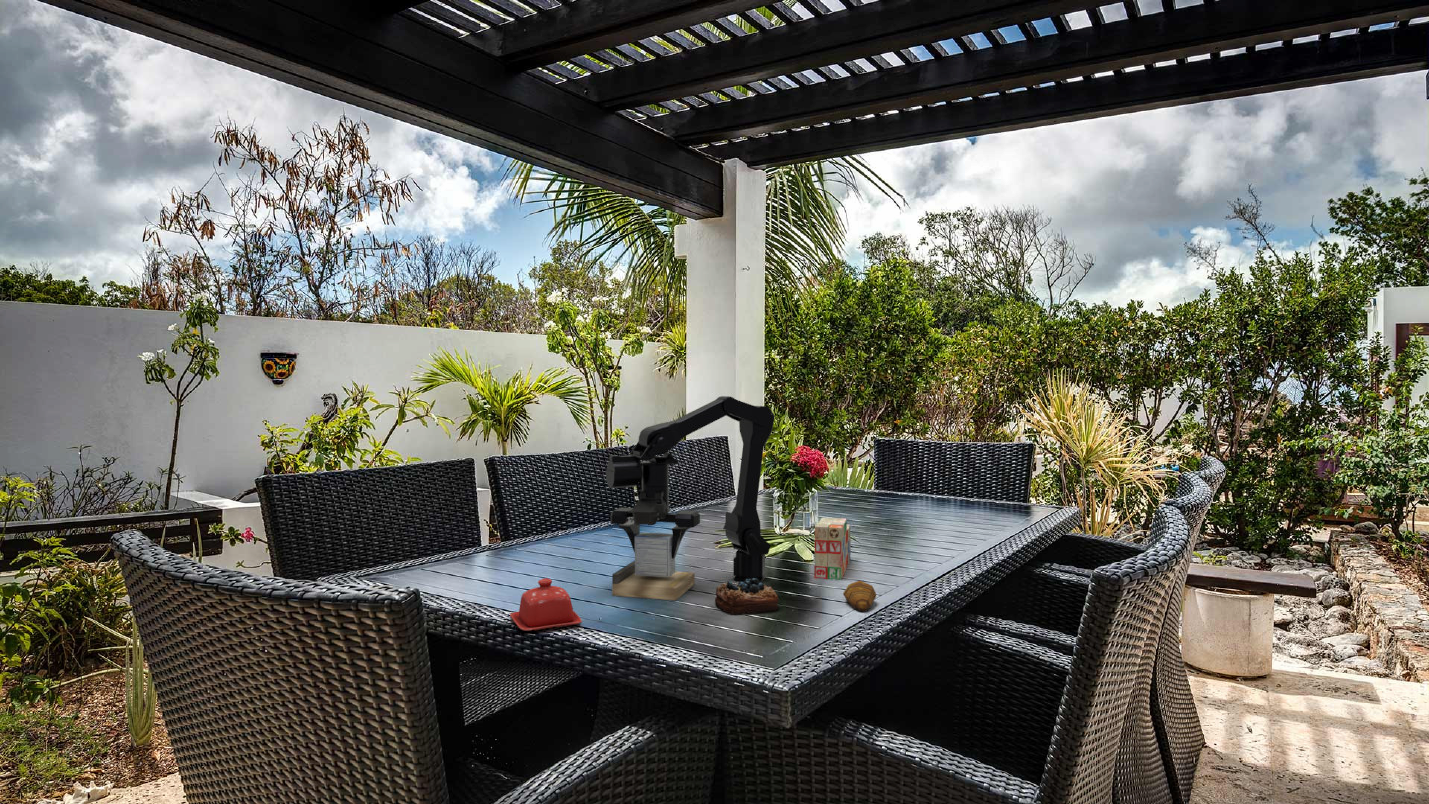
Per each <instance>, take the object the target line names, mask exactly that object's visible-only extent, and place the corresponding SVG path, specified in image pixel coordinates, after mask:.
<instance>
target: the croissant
mask: <svg viewBox="0 0 1429 804" xmlns="http://www.w3.org/2000/svg"><path fill="white" fill-rule="evenodd" d="M842 595H843V596H844V598H845V600H846V602H847V603H848V604H849V605H850V606H851V608H852V609H854V610H856V611H858V612H863V613H864V612H867V611H868V610H870V609H871V607H872V605H873V603H874V601H875V599H877V592H876V590H875V589H874V587H873V585H872V584H870V583H868V582H867V583H866V582H864V581H862V580H858V581H854V582H851V583H849V584H847V587H846V588H845V590H844V591H843V593H842Z"/></svg>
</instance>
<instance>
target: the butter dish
mask: <svg viewBox="0 0 1429 804" xmlns="http://www.w3.org/2000/svg"><path fill="white" fill-rule="evenodd" d="M537 583H538V586H537V587H534V588H530V589H528V590H526V591H524V592H523V593H522V595H521V597H520V601H519V602H520V603H519V609H518V611H515V612H511V613H510V614H509V616H510V618H511V619H512V621H513V622H514V623H515V625H516V626H517V627H518V628H519V629H520V630H522V631H523V632H526V631H527V632H533V631H532V630H534V631H540V629H542V630H547V629H546V628H550V629H554V628H553V627H558V628H562V627H561V626H565V627H570V626H572V625H574V626H575V625H578V624H580V623H582V618H581V617H580V616H579V615H578V614H577V613H576V611H574V610H573V604H572V600H571V596H570V595H569V593H568V592H567V591H566V590H565V589H564V588H562V587H561V586H556V585H551V584H552V583H553V580H552V579H550V578H547V577H546V578H541V579H539V580H538V581H537Z"/></svg>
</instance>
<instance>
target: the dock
mask: <svg viewBox="0 0 1429 804" xmlns="http://www.w3.org/2000/svg"><path fill="white" fill-rule="evenodd" d="M695 573H696V572H690V571H689V572H688V571H676V570H675V573H674V574H673V575H671V576H670V577H656V576H641V575H635V560H633V561H632V562H630V563H628V564H626V565H625V566H624V567H622V568H620V569H618V570H617V571H615V572H614V573H612V574H611V575H612V579H611V580H612V581H611V582H612V583H611V584H612V586H611V587H612V588H611V589H612V590H611V591H612V593H611V594H612V595H614V597H615V596H616V597H625V598H627V597H628V598H639V599H640V598H641V599H654V600H665V601H666V600H667V601H677V600H678V599H679V598H680V597H682V595H684V594H685V593H686V592H688V590H690V589H691V588H692V587H693V586H694V585H695V581H696V577H695Z"/></svg>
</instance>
